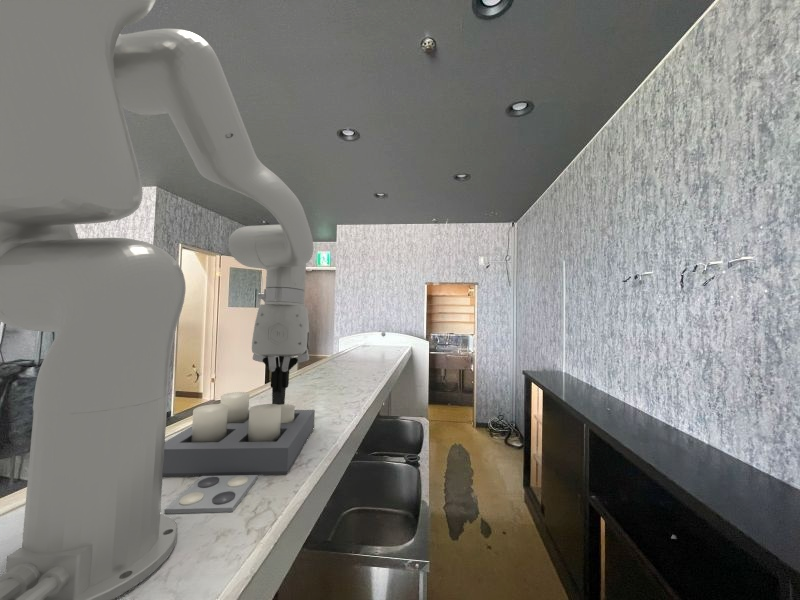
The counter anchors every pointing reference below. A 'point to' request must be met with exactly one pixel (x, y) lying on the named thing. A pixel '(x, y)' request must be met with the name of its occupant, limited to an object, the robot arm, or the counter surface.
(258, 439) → the button near right
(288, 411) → the button far right
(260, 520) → the counter surface
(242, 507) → the counter surface
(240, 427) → the board
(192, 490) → the tile
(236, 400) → the button far left
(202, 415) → the button near left
